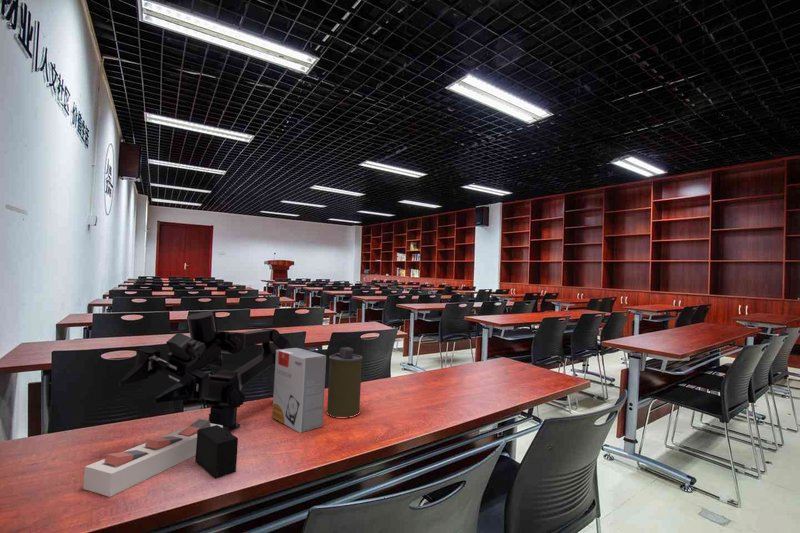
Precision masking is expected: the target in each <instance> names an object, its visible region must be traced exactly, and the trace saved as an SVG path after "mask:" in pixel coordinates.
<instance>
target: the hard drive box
mask: <svg viewBox="0 0 800 533" xmlns="http://www.w3.org/2000/svg"><path fill="white" fill-rule="evenodd" d="M326 365H327V355H325V354H322V353H318V352H315V351H311V350H307V349H304V348H299V347H292V348H289V349H279V350H276V359H275V365H274V379H273V396H272V410H271V412H272V413H271V418H272V417H273V418H272V419H274V420H276V421H277V420H278V421H279V423H281V424H282V425H285V426H287V427H289V428H290V429H291V428H292V430H293V431H295V432H297V433H299V434H302V433H305V431H306V432H308V431H312V430H315V428H316V429H319V428H322V427H323V426H324V409H325V408H324V405H325V387H326V385H325V384H326V368H327V367H326ZM278 421H277V422H278Z"/></svg>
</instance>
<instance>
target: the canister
mask: <svg viewBox="0 0 800 533" xmlns="http://www.w3.org/2000/svg"><path fill="white" fill-rule="evenodd" d="M328 358H329V365H328V368H329V369H328V385H327V386H328V387H327V404H326V405H327V406H326V407H327V408H326V412H328V414H329V415H331V416H334V417H350V416H354V415H356V414H358V413H359V410H360V409H361V408H360V406H361V387H362V385H361V384H362V383H361V382H362V366H363V365H362V363H363V361H362V360H363V358H364V357H363V356H362V355H360V354H355V353H354V349H353V348H352V347H349V346H348V347H346V346H345V347H339V351H338V352H334V353H333V354H331V355H329V357H328Z"/></svg>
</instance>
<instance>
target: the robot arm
mask: <svg viewBox="0 0 800 533" xmlns="http://www.w3.org/2000/svg"><path fill="white" fill-rule="evenodd" d="M216 315H217V314H216V311H215V310H207V311H202V312H197V313H191V314H188V316H186V319H187V324H188V326H187V327H188V331H189V336H188V335H186V334H183V333H181V332H176V334H174V336H172V337H170V339H168V340H167V341H166V342H165V343H166V345H167V346H168V349H169V351H170V352H168V353H166V354H167V355H166V359H167V361H166V360H164V359H162V358H161V352H160V351H158V350H156V349H154V348H151V347H149V346H147V345H145V346H142V347H140V348H138V349H137V350H136V354H135V356H136V357H135V360H136V361H135V365H134V366H133V367H132V368H131V369H130V371H129V372H127V373H126V375H125V376H124V377H123V378H122V379H121V380H119V386H120V387H124V386H127V385H131V384H134V383H137V382H138V383H139V382H141V381H144V380H147V379H149V377H150V376H151V377H152V376H153V375H156V374H157V372H158V371H159V372H161V373H163V374H166V375H167V376H166V378H168V379H172V380H174V381H175V382H177V383H175V384H174V385H172V386H170V387H169V388H167V389H166V390H164V391H162V392H161V393H160V394H158V395H157V396H155V398H154V399H153V403H154V404H159V403H161V404H162V403H168V402H174V401H186V400H190V401H194V400H196V401H198V402H200V401H202V400H203V401H204V405H205V406H210V412H209V414H208V421H210V423H212V424H217V425H222V426H223V427H228V428H229V429H230V432H231V431H233V430H235V429H237V428H240V427H241V423H237V413H238V412H237V411H238V408H241V406H243V405H244V402H245V399H246V396H245V395H244V393H243V392H242V387H244V385H246V384H247V383H249V382H250V381H252V380H253V379H254V378H256V377H257V376H259V375H261V374H262V373H263V372H264V371H266V370H268V369H269V368H271V367H272V366H275V359H276V350H279V349H289V348H293V347H292V344H291V343H290V342H289V340H287V338H285V337H284V336H282V335H281V333H280V332H279V330H277V329H276V328H266V327H265V328H262V329H257V330H256V329H255V330H248V331H242V332H237V331H228V330H226V331H225V330H219V329H218V325H217V318H216V317H217V316H216ZM260 344H261V345H260ZM255 345H260V346H261V347H260V348H261V350H262V353H261V354H259V355H257V356H256V357H254V358H253V359H251V360H248V361H247V362H246V363H245V364H244V363H243V365H241V366H240V367H238V368H236V369H235V370H233V371H232V370H226V369H221V370H218V371H217V372H216V373H214V374H213V375H211V374H209V373H207V372H205V371H203V369H205V368H206V367H208V366H210V367H216V368H217V367H218V368H221V367H222V366H223V360H224V357H223V354H229V355H231V354H232V355H235V354H238V353H239V352H242V351H243V350H244V349H246V347H250V346H255Z"/></svg>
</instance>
